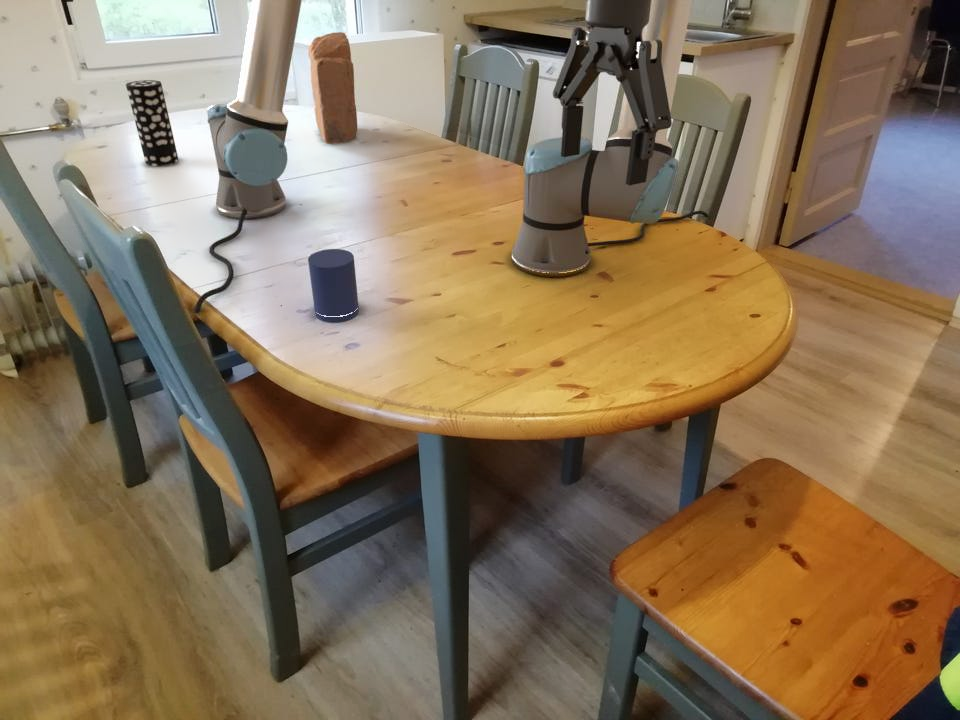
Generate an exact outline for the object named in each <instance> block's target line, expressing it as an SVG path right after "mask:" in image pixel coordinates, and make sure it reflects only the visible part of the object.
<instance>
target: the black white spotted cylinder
mask: <svg viewBox="0 0 960 720" xmlns="http://www.w3.org/2000/svg"><path fill="white" fill-rule="evenodd" d="M125 87H126V91H127V95H128V99H129V103H130V107H131V110H132V115H133V118H134V122H135V123H134V124H135V127H136V130H137V134H138V139H139V143H140V146H141V150H142V155H143V158H144V163H145V164H146V165H147V166H151V167H164V166H170V165H174V164H176V163H178V162H179V155H178V150H177V146H176V142H175V137H174V133H173V128H172V125H171V121H170V116H169V111H168V107H167V103H166V98H165V93H164V89H163V84H162V81H161V80H155V79H154V80H153V79H151V80H150V79H145V80H144V79H141V80H134V81H130V82H129V81H128V82H127V83H126V84H125Z"/></svg>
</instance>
